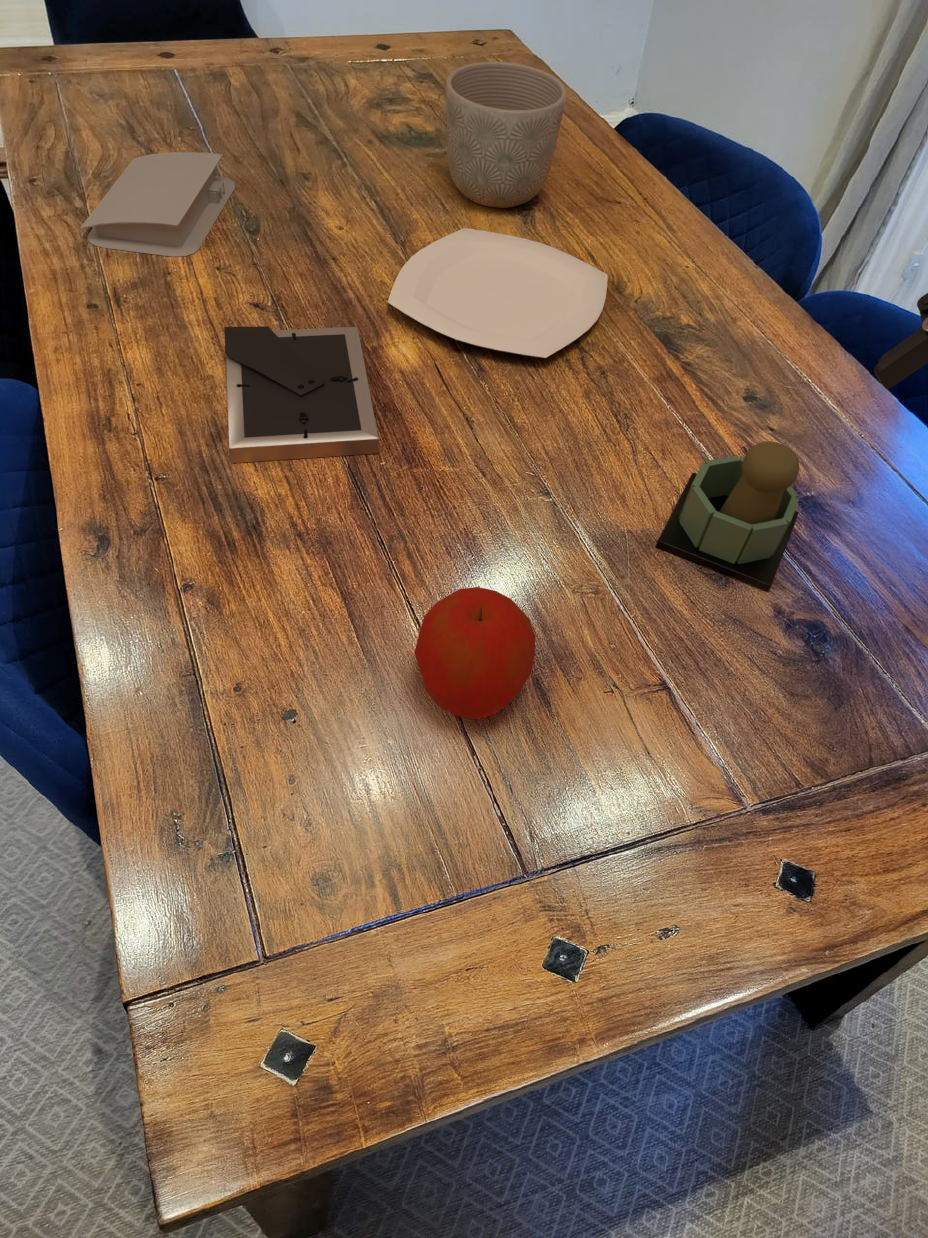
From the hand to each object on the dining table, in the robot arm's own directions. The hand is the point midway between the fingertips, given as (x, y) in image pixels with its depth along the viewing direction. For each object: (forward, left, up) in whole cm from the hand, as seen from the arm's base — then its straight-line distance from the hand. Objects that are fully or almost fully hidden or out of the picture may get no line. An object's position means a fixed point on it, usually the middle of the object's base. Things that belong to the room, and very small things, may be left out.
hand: (911, 418), depth 58 cm
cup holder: (+8, -16, -30) cm, 34 cm away
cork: (+7, -15, -29) cm, 33 cm away
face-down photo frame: (+58, -11, -30) cm, 66 cm away
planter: (+60, -68, -30) cm, 95 cm away
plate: (+47, -42, -30) cm, 70 cm away
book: (+97, -36, -30) cm, 108 cm away
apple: (+23, +15, -30) cm, 40 cm away
